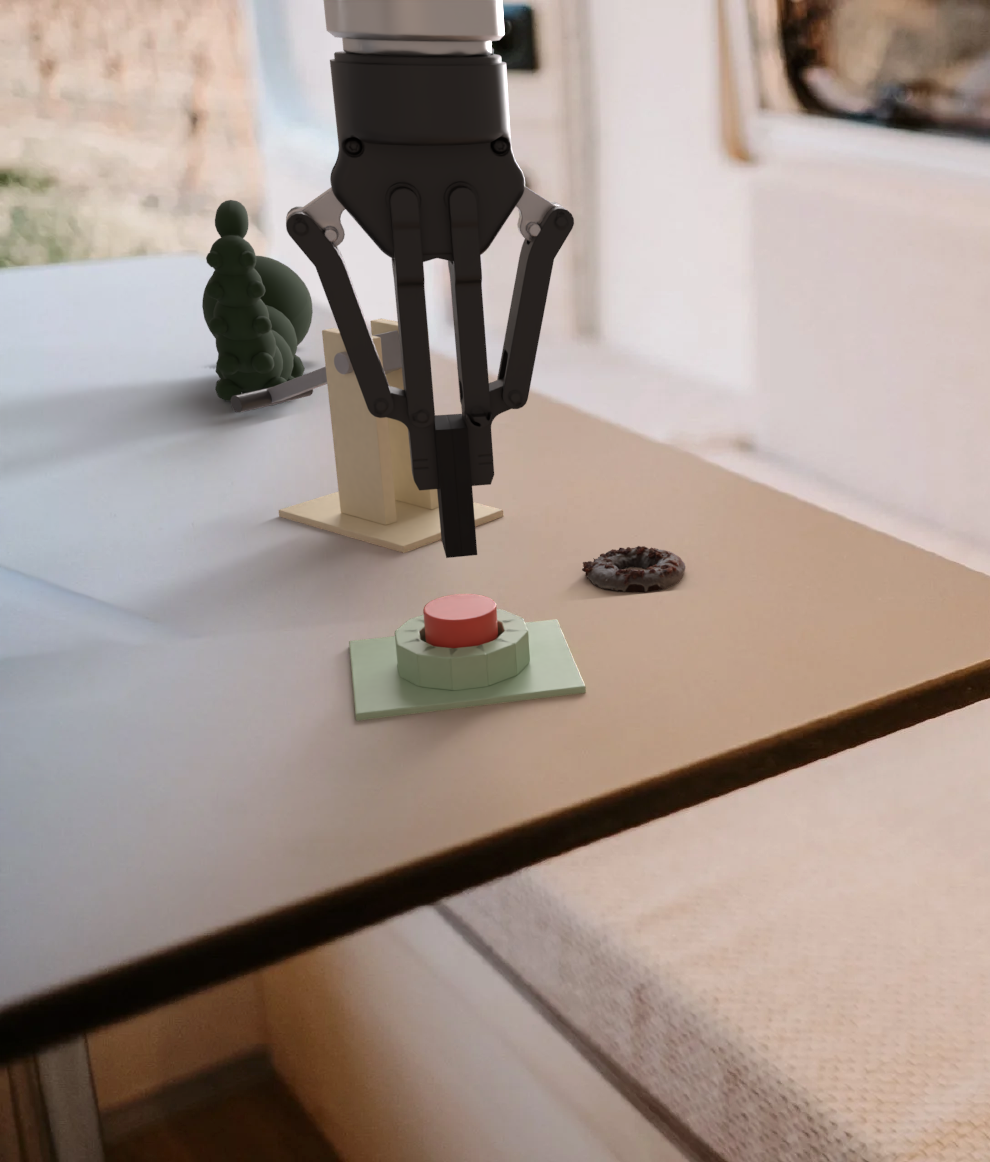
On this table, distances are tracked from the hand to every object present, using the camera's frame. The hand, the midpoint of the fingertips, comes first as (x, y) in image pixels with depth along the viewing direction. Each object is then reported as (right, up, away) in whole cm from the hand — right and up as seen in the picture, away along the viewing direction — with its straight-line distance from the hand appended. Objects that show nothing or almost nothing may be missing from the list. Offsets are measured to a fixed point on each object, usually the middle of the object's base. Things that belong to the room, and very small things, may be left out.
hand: (459, 546), depth 73 cm
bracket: (-12, +2, +27) cm, 30 cm away
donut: (+6, -2, +19) cm, 20 cm away
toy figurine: (-35, +16, +60) cm, 71 cm away
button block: (0, -8, +3) cm, 9 cm away
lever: (-16, +11, +26) cm, 33 cm away
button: (0, -5, +2) cm, 5 cm away
